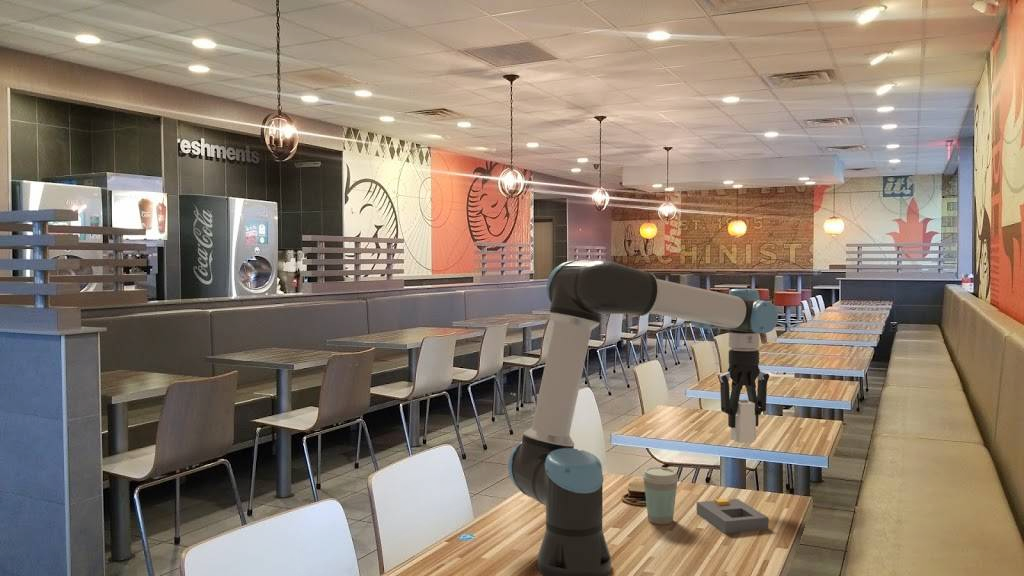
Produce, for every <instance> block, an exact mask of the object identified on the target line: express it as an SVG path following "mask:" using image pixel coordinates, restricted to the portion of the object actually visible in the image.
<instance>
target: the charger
mask: <svg viewBox="0 0 1024 576" xmlns="http://www.w3.org/2000/svg"><path fill="white" fill-rule="evenodd" d="M736 415H738V416H739V441H737V443H740V444H749V443H755V441H756V440H755V403H753V402H750V401H749V400H748V398H747V399H746V398H745V399H743V398H742V399H739V403H738V408H737V413H736Z"/></svg>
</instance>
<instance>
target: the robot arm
mask: <svg viewBox="0 0 1024 576" xmlns="http://www.w3.org/2000/svg"><path fill="white" fill-rule="evenodd" d="M545 286H546V289H545V290H546V296H547V297H548V300H549V303H550V308H549V312H548V314H549V316H550V317H551V319H552V321H553V326H552V331H551V336H550V341H549V345H548V349H547V355H546V358H545V363H544V364H545V365H544V368H543V372H542V373H543V374H542V378H541V382H540V383H541V384H540V387H539V392H538V396H537V401H536V406H535V411H534V416H533V421H532V425H531V427H530V428H528V429H526V430H525V431H524V432H523V433H522V438H521V442H519V443H517V444H518V445H517V446H515V447H514V448H513V449H512V450H511V452H510V455H509V456H508V457H509V458H508V463H507V465H508V466H507V468H508V469H507V470H508V475H509V478H510V480H511V482H512V483H513V485H514V486H515V488H517V489H518V490H519V491H520V492H521V493H522V494H523V495H526V496H528V498H532V499H533V500H535V501H537V502H538V503H540V504H542V505H544V506H545V532H544V535H543V538H542V541H541V544H540V548H539V551H538V554H537V569H538V571H539V573H540V574H542V575H543V576H608V575H609V574H610V573H611V571H612V557H611V554H610V550H609V548H608V547H609V546H608V544H607V541H606V539H605V538H606V537H605V535H604V531H603V530H604V529H603V484H604V475H603V466H602V462H601V461H600V459H599V458H598V457H597V456H596V454H593V453H591V452H589V451H587V450H583V449H581V450H579V449H578V448H574V447H575V443H574V441H573V439H572V438H571V436H570V434H571V428H572V425H573V424H572V423H573V419H574V414H575V410H576V404H577V400H578V396H579V391H580V385H581V381H582V378H583V377H582V376H583V373H584V366H585V361H586V357H587V353H588V347H589V343H590V339H591V335H592V334H591V333H592V331H593V330H594V329H595V328H597V327H598V326H600V323H601V318H602V315H618V314H620V315H633V316H639V317H644V316H646V315H648V314H653V315H659V316H664V317H670V318H675V319H681V320H685V321H691V324H692V325H693V326H694V327H696V328H697V329H705V330H706V329H707V330H709V329H720V330H727V331H728V347H729V348H730V349H729V350H728V369H727V371H726V372H725V373H723V374H722V373H719V374H718V375H717V378H718V381H719V383H720V384H719V385H720V387H719V388H720V389H719V390H720V411H721V412H722V413H725V414H727V417H728V418H727V419H728V421H727V422H728V423H727V425H728V427H729V428H730V439H731V440H732V441H734V442H737V441H739V416H738V415H736V413H737V408H738V403H739V400H740V397H741V392H742V390H743V387H745V389H746V392H747V393H746V394H747V400H748V401H750V402H753V403H755V441H756V440H757V437H756V436H757V435H756V433H757V432H756V431H757V427H758V426H759V418H760V417H759V416H761V414H762V412H763V413H764V412H766V410H767V394H768V393H767V392H768V391H767V390H768V389H767V388H768V381H769V378H770V374H769V373H766V372H764V371H761V369H760V367H759V364H760V351H759V348H760V334H769V333H770V332H772V331H774V329H775V328H776V326H777V325H778V318H779V313H778V309H777V306H776V305H774V303H773V302H770V301H766V300H763V299H760V293H759V291H758V290H757V289H755V288H731V289H729V291H728V294H727V293H723V292H719V291H713V290H708V289H705V288H701V287H695V286H691V285H688V284H687V285H686V284H681V283H677V282H672V281H668V280H663V279H659V278H657V276H656V275H654V273H652V272H649V271H644V270H642V269H638V268H634V267H630V266H627V265H624V264H620V263H617V262H614V261H610V260H603V259H601V260H592V259H591V260H590V259H588V260H587V259H583V260H582V259H573V260H570V261H565V262H562V263H560V264H559V265H557V266H555V268H554V269H553V270H552V271H551V273H550V274H549V276H548V279H547V282H546V285H545ZM756 379H757V385H756ZM730 380H731V385H730V383H729V382H730ZM730 386H731V391H730ZM756 389H757V390H756ZM737 443H738V442H737Z"/></svg>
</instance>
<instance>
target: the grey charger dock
mask: <svg viewBox="0 0 1024 576" xmlns="http://www.w3.org/2000/svg"><path fill="white" fill-rule="evenodd" d="M696 514H697V515H698V516H700V517H701V518H702V519H704V520H705V521H707V522H708V523H709V524H711V525H712V526H713V527H715V528H716V529H718V530H719V531H720V532H721V533H723V534H724V535H729V534H730V535H731V534H738V533H746V532H754V531H755V532H756V531H764V530H769V517H768V516H767V515H766V514H763V513H762V512H760V511H758V510H757V509H755V508H754V507H752V506H750V505H749V504H747V503H745V502H744V501H741V500H740V499H739V498H730V499H727V498H718V499H714V500H707V501H696Z"/></svg>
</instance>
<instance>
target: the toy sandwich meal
mask: <svg viewBox="0 0 1024 576" xmlns="http://www.w3.org/2000/svg"><path fill="white" fill-rule="evenodd" d="M628 484H629V487H628V489H627V492H628V493H624V494H623V495H622V496H621V500H622V501H623V502H624V503H626V504H628V505H632V506H647V505H646V496H645V487H644V482H634V481H633V482H629V483H628Z"/></svg>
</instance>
